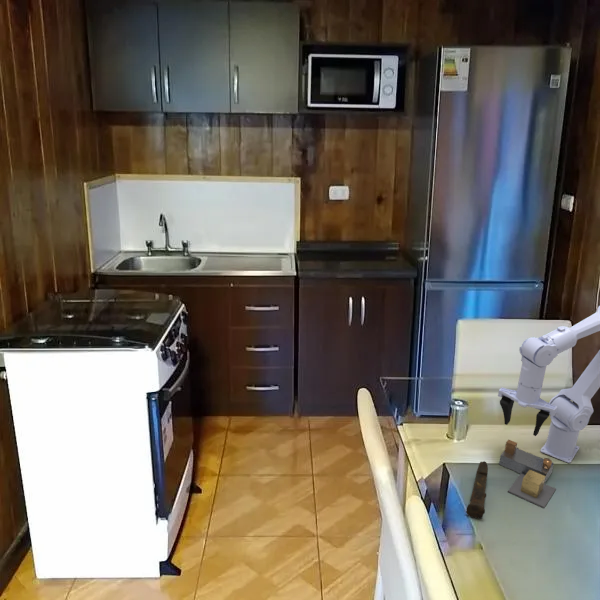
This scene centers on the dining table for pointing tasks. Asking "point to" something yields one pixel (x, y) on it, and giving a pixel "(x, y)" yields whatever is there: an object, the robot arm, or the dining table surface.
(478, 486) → the hand tool
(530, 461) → the body
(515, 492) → the mat
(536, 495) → the tan cube
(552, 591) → the dining table surface
